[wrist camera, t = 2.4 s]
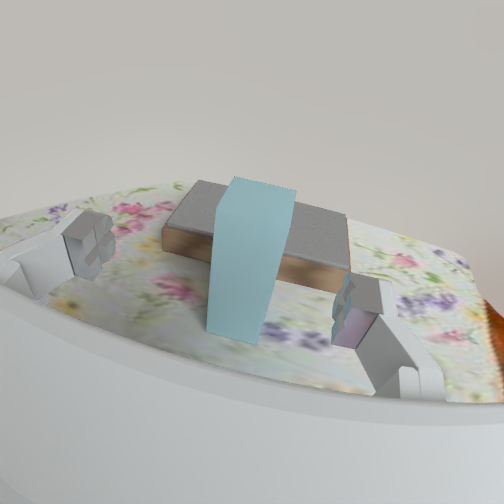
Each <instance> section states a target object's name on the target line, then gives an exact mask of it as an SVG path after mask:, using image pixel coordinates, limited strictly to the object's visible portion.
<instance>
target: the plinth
mask: <svg viewBox="0 0 504 504" xmlns="http://www.w3.org/2000/svg"><path fill="white" fill-rule="evenodd" d="M228 187H229V186H225V185H221V184H216V183H211V182H206V181H202V180H198V182H197V183H196V184H195V185H194V186H193V188H192V189H191V190H190V192H189V193H188V194H187V196H186V197H185V198H184V199H183V201H182V202H181V204H180V205H179V206H178V208H177V209H176V210H175V212H174V213H173V214H172V216H171V217H170V218H169V220H168V221H167V223H166V224H165V225H164V227H163V228H162V249H163V251H167V252H171V253H175V254H178V255H182V256H186V257H190V258H194V259H198V260H202V261H206V262H210V263H211V259H212V247H213V236H214V225H215V214H216V208H217V206H218V204H219V202H220V200H221V199H222V197H223V195H224V193H225V192H226V190H227V188H228ZM347 272H351V266H350V251H349V238H348V226H347V218H346V217H345V214H341V213H338V212H334V211H330V210H326V209H323V208H319V207H315V206H311V205H307V204H303V203H299V202H295V203H294V208H293V214H292V220H291V226H290V229H289V233H288V237H287V240H286V244H285V248H284V251H283V255H282V259H281V262H280V266H279V269H278V273H277V276H276V279H278V280H282V281H286V282H290V283H295V284H299V285H303V286H307V287H311V288H316V289H320V290H324V291H328V292H333V293H338V290H340V289H341V288H343V279H344V277H345V275H346V274H347Z"/></svg>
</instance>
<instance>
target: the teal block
mask: <svg viewBox="0 0 504 504" xmlns="http://www.w3.org/2000/svg"><path fill="white" fill-rule="evenodd" d="M295 197H296V190H291V189H288V188H283V187H279V186H275V185H270V184H266V183H262V182H258V181H252V180H248V179H244V178H239V177H235V176H234V178H233V180H232V181H231V183H230V185H229V187H228V188H227V190H226V192H225V193H224V195H223V197H222V199H221V200H220V202H219V204H218V206H217V208H216V214H215V225H214V236H213V247H212V259H211V271H210V283H209V297H208V311H207V326H206V332H209V333H212V334H216V335H220V336H223V337H227V338H231V339H235V340H239V341H243V342H247V343H251V344H255V345H257V342H258V339H259V335H260V332H261V329H262V325H263V322H264V318H265V315H266V311H267V308H268V305H269V301H270V298H271V294H272V291H273V287H274V284H275V280H276V276H277V273H278V269H279V266H280V262H281V259H282V255H283V251H284V248H285V244H286V240H287V237H288V233H289V229H290V226H291V220H292V214H293V208H294V203H295Z"/></svg>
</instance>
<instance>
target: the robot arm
mask: <svg viewBox="0 0 504 504" xmlns="http://www.w3.org/2000/svg"><path fill="white" fill-rule="evenodd" d="M112 226H113V223H112V218H111V217H110V216H109V215H105V214H101V213H97V212H93V211H90V210H85V209H81V208H74V209H73V210H71V211H70V212H69V213H68V214H67V215H66V216H65V217H64V218H63V219H62V220H61V221H60V222H59V223H58V224H57V225H56V226H55V227H54V228H53V229H52V230H50V231H45V232H42V233H40V234H37V235H35V236H32V237H30V238H28V239H25V240H23V241H20V242H18V243H16V244H13V245H11V246H9V247H7V248H4V249H2V250H0V504H504V403H457V402H446V394H445V387H444V380H443V374H442V370H441V368H440V367H439V366H438V364H437V363H436V362H435V360H434V359H433V358H432V356H431V355H430V354H429V352H428V351H427V350H426V349H425V347H424V346H423V345H422V343H421V342H420V341H419V339H418V338H417V337H416V336H415V334H414V333H413V332H412V331H411V329H410V328H409V327H408V326H407V324H406V323H405V322H404V321H403V319H401V318H398V313H397V307H396V301H395V296H394V290H393V285H392V282H391V281H389V280H385V279H380V278H373V277H369V276H365V275H360V274H356V273H352V272H347V274H346V275H345V277H344V279H343V288H341V289H340V290H338V293H337V295H336V297H335V301H334V304H333V310H332V318H333V319H334V321H335V323H334V325H333V327H332V337H331V344H333V345H337V346H342V347H346V348H351V349H356V350H355V352H356V354H357V355H358V357H359V359H360V361H361V363H362V365H363V367H364V369H365V371H366V373H367V375H368V377H369V379H370V381H371V382H372V384H373V386H374V388H375V390H376V393H375V394H374V395H373V396H369V395H361V394H354V393H347V392H340V391H334V390H327V389H321V388H316V387H310V386H304V385H299V384H294V383H289V382H284V381H279V380H274V379H270V378H265V377H260V376H256V375H252V374H247V373H243V372H239V371H235V370H231V369H227V368H223V367H219V366H216V365H212V364H208V363H205V362H201V361H197V360H194V359H191V358H187V357H184V356H180V355H177V354H174V353H171V352H167V351H164V350H161V349H158V348H155V347H152V346H149V345H146V344H143V343H140V342H137V341H134V340H131V339H129V338H126V337H123V336H120V335H118V334H115V333H112V332H109V331H107V330H104V329H102V328H99V327H96V326H94V325H91V324H89V323H86V322H84V321H81V320H79V319H76V318H74V317H72V316H69V315H67V314H65V313H62V312H60V311H58V310H55V309H53V308H51V307H49V306H46V305H44V304H42V303H40V302H38V301H37V300H38V299H40V298H41V297H43V296H44V295H46V294H47V293H49V292H51V291H52V290H54V289H55V288H57V287H59V286H60V285H62V284H63V283H65V282H67V281H68V280H70V279H71V278H73V277H74V275H75V276H78V277H81V278H84V279H88V280H91V281H93V280H94V279H95V278H96V276H97V275H98V274H99V272H100V271H101V270H102V263H104V262H107V261H109V259H110V258H111V256H112V255H113V252H114V249H115V236H114V234H113V233H112V232H111V228H112Z"/></svg>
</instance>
